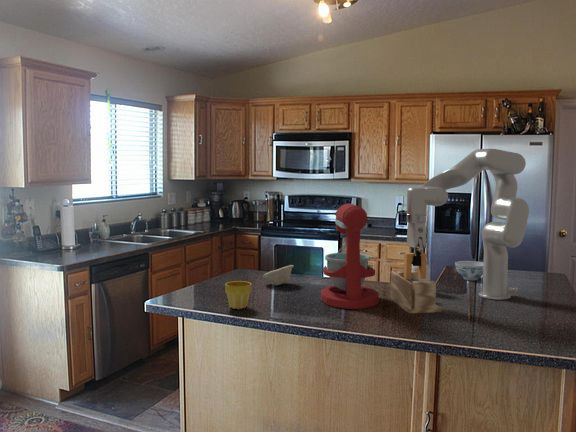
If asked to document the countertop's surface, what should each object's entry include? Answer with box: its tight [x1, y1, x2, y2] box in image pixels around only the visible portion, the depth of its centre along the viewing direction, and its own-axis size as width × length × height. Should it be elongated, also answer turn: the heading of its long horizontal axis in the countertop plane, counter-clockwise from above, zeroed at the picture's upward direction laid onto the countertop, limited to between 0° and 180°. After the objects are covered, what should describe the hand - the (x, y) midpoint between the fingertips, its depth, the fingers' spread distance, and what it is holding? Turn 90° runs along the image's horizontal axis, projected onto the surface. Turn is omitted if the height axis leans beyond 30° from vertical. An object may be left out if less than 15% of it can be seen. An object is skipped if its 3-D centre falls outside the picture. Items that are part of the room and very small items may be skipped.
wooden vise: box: [389, 270, 443, 314], centre depth 208 cm, size 13×23×12 cm, turn 6°
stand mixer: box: [320, 203, 380, 310], centre depth 215 cm, size 24×32×40 cm
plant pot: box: [224, 280, 253, 308], centre depth 204 cm, size 10×10×10 cm
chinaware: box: [454, 260, 484, 281], centre depth 256 cm, size 15×15×8 cm
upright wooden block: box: [403, 252, 428, 279], centre depth 207 cm, size 8×3×10 cm, turn 96°
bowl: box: [262, 264, 294, 286], centre depth 245 cm, size 15×14×10 cm
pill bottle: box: [411, 258, 431, 281], centre depth 229 cm, size 8×8×15 cm
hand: (415, 264), depth 207 cm, fingers closed on upright wooden block, 3 cm apart
